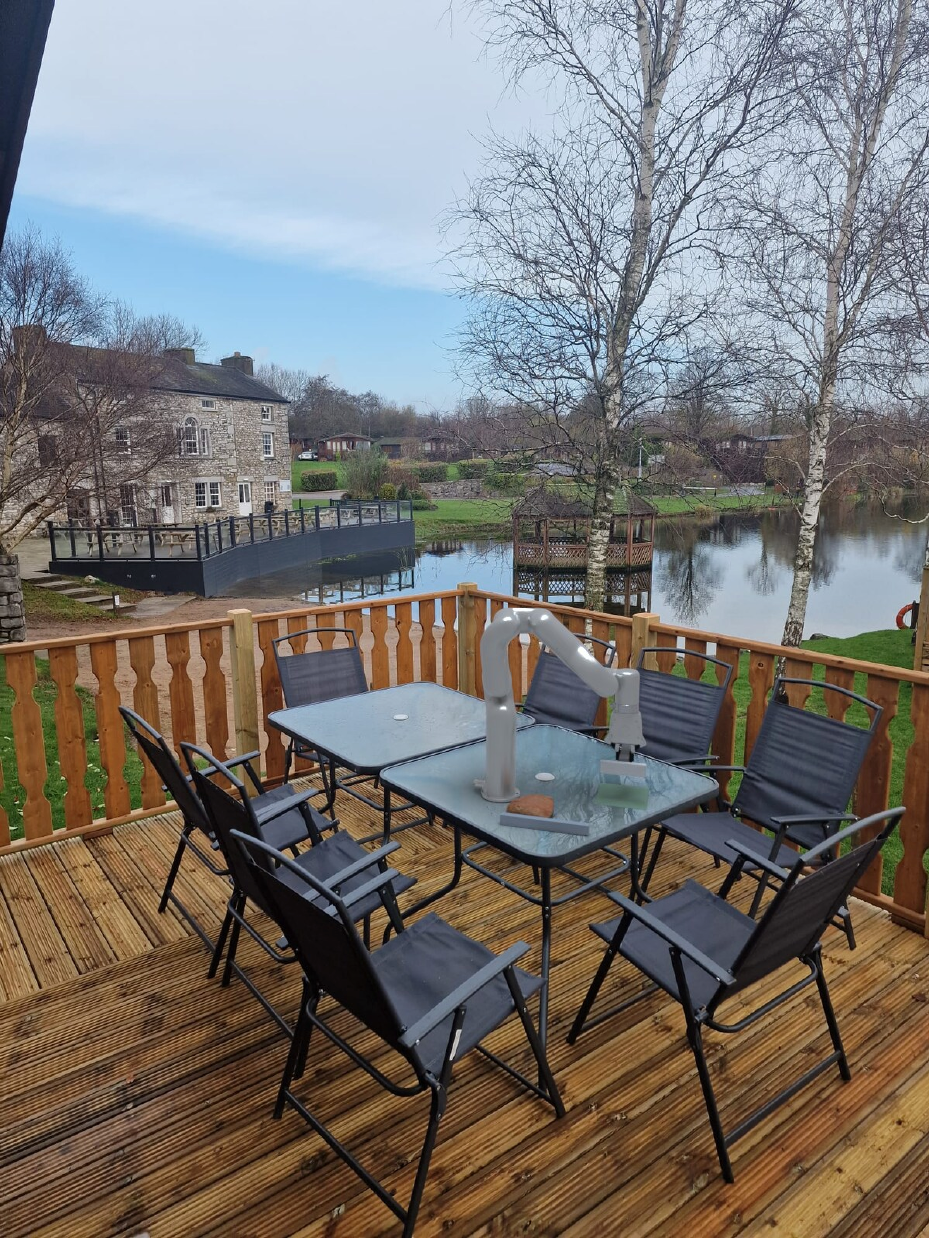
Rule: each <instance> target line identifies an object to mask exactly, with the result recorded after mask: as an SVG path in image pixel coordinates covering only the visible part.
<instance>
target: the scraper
mask: <svg viewBox="0 0 929 1238" xmlns="http://www.w3.org/2000/svg"><path fill="white" fill-rule="evenodd" d="M620 747H621V748H620V750H621V752H620V755H619V761H618V760H609V759H600V771H599V772H600V774H605V775H606V774H607V775H613V776H614V775H615V776H616V775H617V776H623V777H624V776H625V777H633V778H634V777H636V778H647V763H643V762H641V763H640V762H629V753H630V749H631V745H630V744H621V746H620Z"/></svg>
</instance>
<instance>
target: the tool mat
mask: <svg viewBox="0 0 929 1238" xmlns="http://www.w3.org/2000/svg"><path fill="white" fill-rule="evenodd" d="M649 794H650V788H649V787H641V786H633V785H623V784H615V783H608V782H607V783H606V782H600V783H599V787H598V790H597V793H596V796H595V800H594V802H593V803H594V805H601V806H607V807H616V808H625V809H633V810H642V811H647V807H648V801H649V796H650V795H649Z"/></svg>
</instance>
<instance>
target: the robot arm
mask: <svg viewBox="0 0 929 1238" xmlns="http://www.w3.org/2000/svg"><path fill="white" fill-rule="evenodd" d="M519 634H522V635H523V634H526V635H527V634H528V635H529V634H531V635H534V636H535V637H536V638H537V639H538V640H539V641H540V642H541V643H542V644H543V645H544V646H546V647H547V648H548V650H550V651H551V652H552V653H553V654H554V655H555V656H556V657H557V658H558V659H559V660H560V661H562V662H563V664H564V665H565V666H566V667H568V668H569V669H570V670H572V672H573V673H575V675H576V676H578V678H579V679H581V681H583V682H584V683H585V684H586V685H587V686H588V687H589V688H590V689H591V690H592V691H594V692H595V693H596V694H597V695H598V696H600V697H602V698H607V699H608V698H611V697H614V701H613V702H610V703H609V708H612V711H611V714H610V719H609V729H608V733H607V735H606V737H605V738H604V743H606V744H608V745H610V746H611V747H612V749H613V750H614V752H615V761H619V755H620V752H621V748H620V747H621V746H620V745H622V744H630V745H631V749H630V753H629V762H633V763H635V752H637V751H638V750H639V749H640V748H643V747H646V745H647V741H646V739H645V737H644V735H643V724H642V723H643V720H642V713H641V711H640V710H639V709H640V708H639V707H640V704H639V703H640V682H641V681H640V680H641V679H640V678H641V674H640V672H639V671H638V670H637V669H635V668H628V667H627V668H625V667H624V668H611V667H605V666H603V664H601V663H600V662H599V661H598V660H597V659H596V658H595V657H594V656H593V654H592V653H591V652H590V651H589V650H588V648H587V647H586V645H585V644H584V643H583V642H582V641H581V640H580V639H579V638H578V637H577V636H576V635H574V633H572V631H570V630H569V629H568V628H567V627H566V626H565V625H564V624H563V623H562V622H561V621H560V620H559V619H558V618H556V617H555V616H554V614H553V613H552V611H550V610H549V609H546V608H541V607H527V608H526V607H523V608H522V607H506V608H505V607H504V608H501V609H499V610H498V611H497V612H496V613H494V616H493V620H492V622H491V623H490V624H489V625H488V626H487V627H486V628H485V630H484V631H483V633H482V635H481V637H480V641H479V653H480V654H479V655H480V665H481V670H482V671H481V680H482V688H483V689H482V690H483V693H484V694H483V697H484V703H485V704H484V705H485V716H486V717H485V719H486V720H485V721H486V725H485V726H486V731H485V732H486V733H485V734H486V735H485V738H486V739H485V752H486V753H485V778H484V779H479V778H478V779H477V778H474V779H473V782H472V783H473V786H474V787H475V788H478V789H481V790H480V795H481V797H482V798H483V799H485V800H486V801H489V802H493V803H511V802H512V801H513V800H515V799H518V798H520V796H521V791H520V789H519V788H518V787H516V776H517V775H516V773H517V772H516V770H517V769H516V766H517V765H516V764H517V759H516V757H517V727H518V715H517V709H516V704H515V699H514V698H515V697H514V690H513V678H512V673H511V670H510V665H509V655H508V646H509V644H510V642H511V641H512V640H514V639H515V638H516V637H517V636H518V635H519Z"/></svg>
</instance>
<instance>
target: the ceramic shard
mask: <svg viewBox="0 0 929 1238" xmlns="http://www.w3.org/2000/svg"><path fill="white" fill-rule="evenodd" d="M554 807H555V805H554V798H553V796H550V795H545V794H544V795H543V794H533V793H532V794H527V795H523V796H521V797H520V796H519V798H518V799H515V800H513V801H510V802H509V803H508V805H507V806H506V809H505V813H513V814H520V815H528V816H536V817H544V818H552V817H553V811H554Z"/></svg>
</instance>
